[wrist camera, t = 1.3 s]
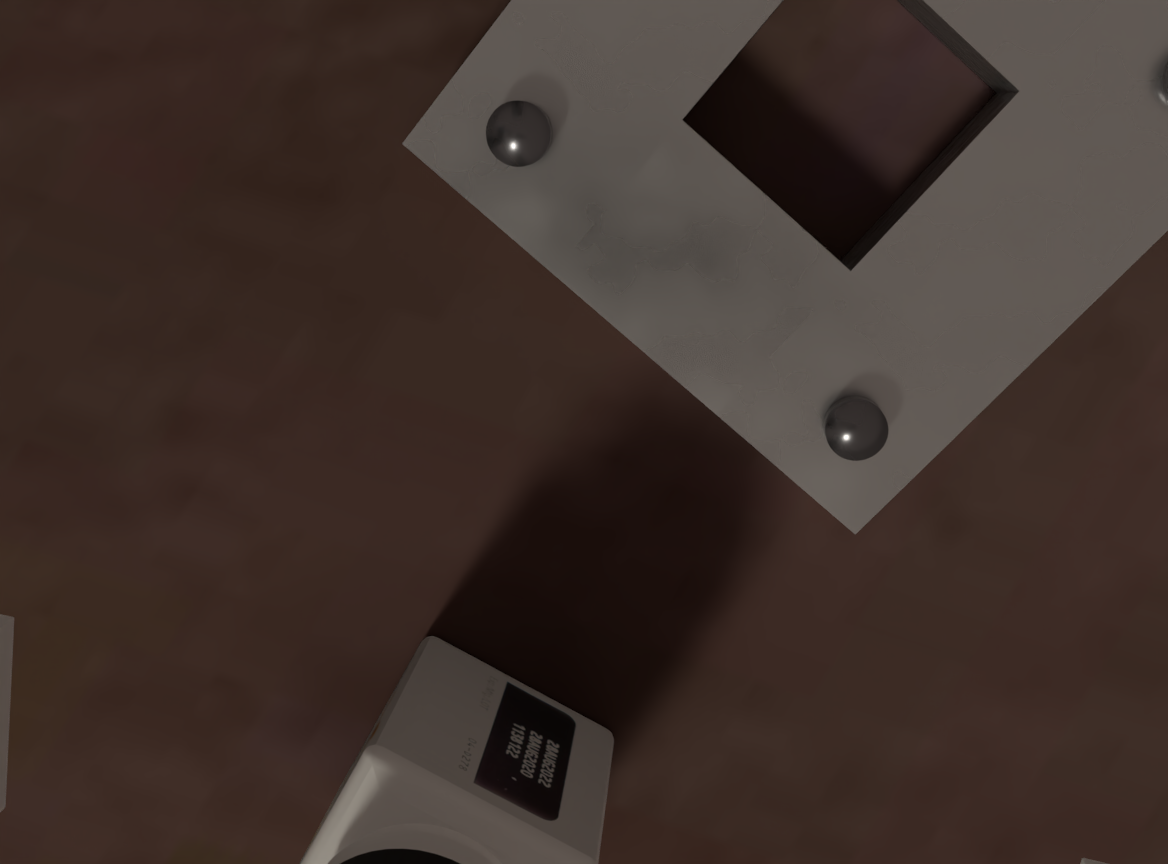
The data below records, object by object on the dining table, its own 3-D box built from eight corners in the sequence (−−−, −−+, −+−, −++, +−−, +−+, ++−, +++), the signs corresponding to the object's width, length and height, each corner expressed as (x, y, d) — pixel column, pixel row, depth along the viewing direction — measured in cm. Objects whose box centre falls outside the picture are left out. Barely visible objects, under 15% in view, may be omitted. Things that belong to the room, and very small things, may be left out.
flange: (421, 142, 34) (395, 144, 31) (827, -387, 29) (842, -447, 26) (844, 507, 36) (859, 544, 33) (1291, 67, 31) (1356, 62, 28)
